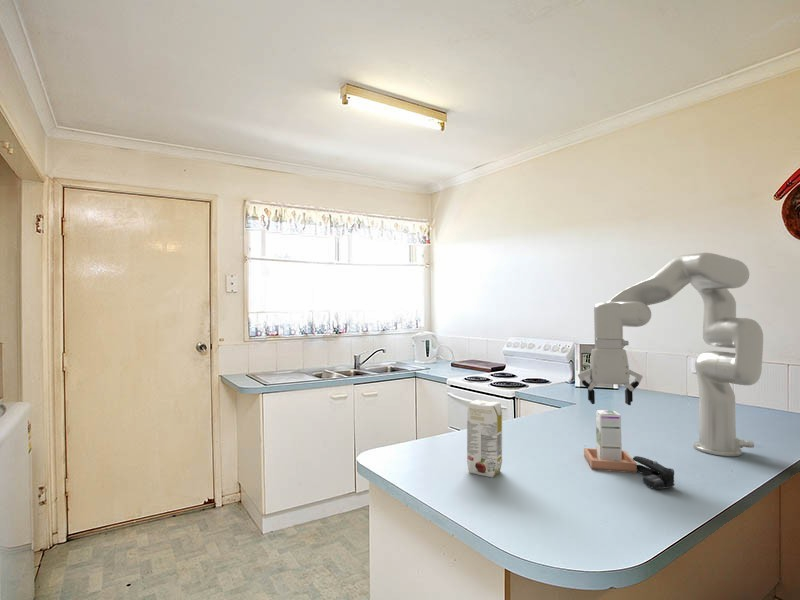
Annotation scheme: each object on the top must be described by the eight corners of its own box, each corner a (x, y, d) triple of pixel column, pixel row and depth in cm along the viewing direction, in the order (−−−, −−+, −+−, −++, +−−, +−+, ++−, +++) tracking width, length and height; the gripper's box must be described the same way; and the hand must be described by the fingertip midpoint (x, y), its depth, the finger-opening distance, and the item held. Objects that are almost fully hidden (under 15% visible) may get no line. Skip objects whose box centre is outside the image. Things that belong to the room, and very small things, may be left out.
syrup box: (622, 466, 127) (622, 414, 128) (600, 464, 129) (600, 413, 129) (616, 459, 133) (616, 410, 133) (595, 458, 134) (595, 409, 134)
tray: (625, 459, 135) (625, 450, 135) (636, 472, 124) (636, 463, 124) (584, 456, 138) (584, 448, 138) (591, 469, 126) (591, 460, 126)
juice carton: (494, 479, 118) (494, 406, 119) (464, 473, 123) (464, 402, 123) (504, 470, 124) (504, 401, 125) (475, 465, 129) (475, 398, 129)
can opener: (682, 494, 110) (682, 470, 110) (652, 492, 111) (652, 469, 111) (649, 468, 128) (649, 448, 128) (623, 467, 128) (623, 447, 128)
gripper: (637, 343, 133) (638, 401, 133) (575, 343, 137) (576, 400, 137) (645, 346, 126) (646, 407, 126) (579, 345, 130) (580, 405, 129)
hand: (610, 403), depth 131 cm, fingers open, 9 cm apart
